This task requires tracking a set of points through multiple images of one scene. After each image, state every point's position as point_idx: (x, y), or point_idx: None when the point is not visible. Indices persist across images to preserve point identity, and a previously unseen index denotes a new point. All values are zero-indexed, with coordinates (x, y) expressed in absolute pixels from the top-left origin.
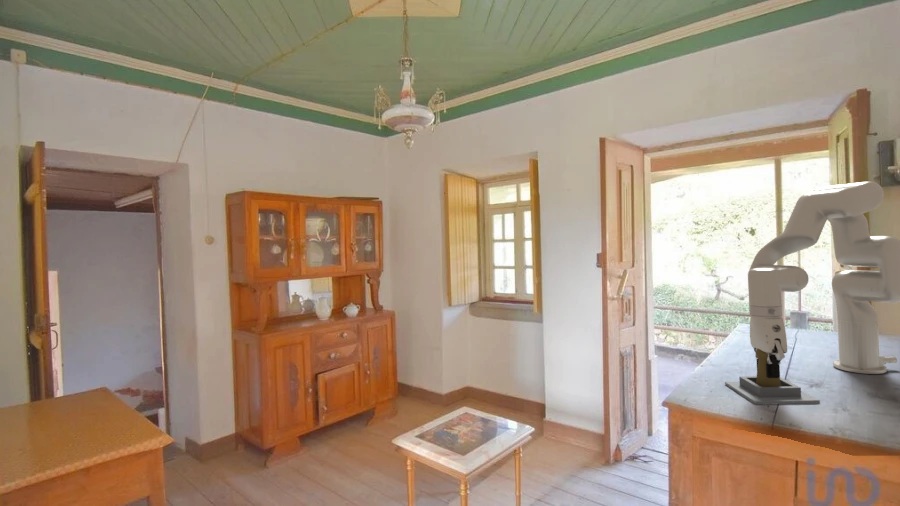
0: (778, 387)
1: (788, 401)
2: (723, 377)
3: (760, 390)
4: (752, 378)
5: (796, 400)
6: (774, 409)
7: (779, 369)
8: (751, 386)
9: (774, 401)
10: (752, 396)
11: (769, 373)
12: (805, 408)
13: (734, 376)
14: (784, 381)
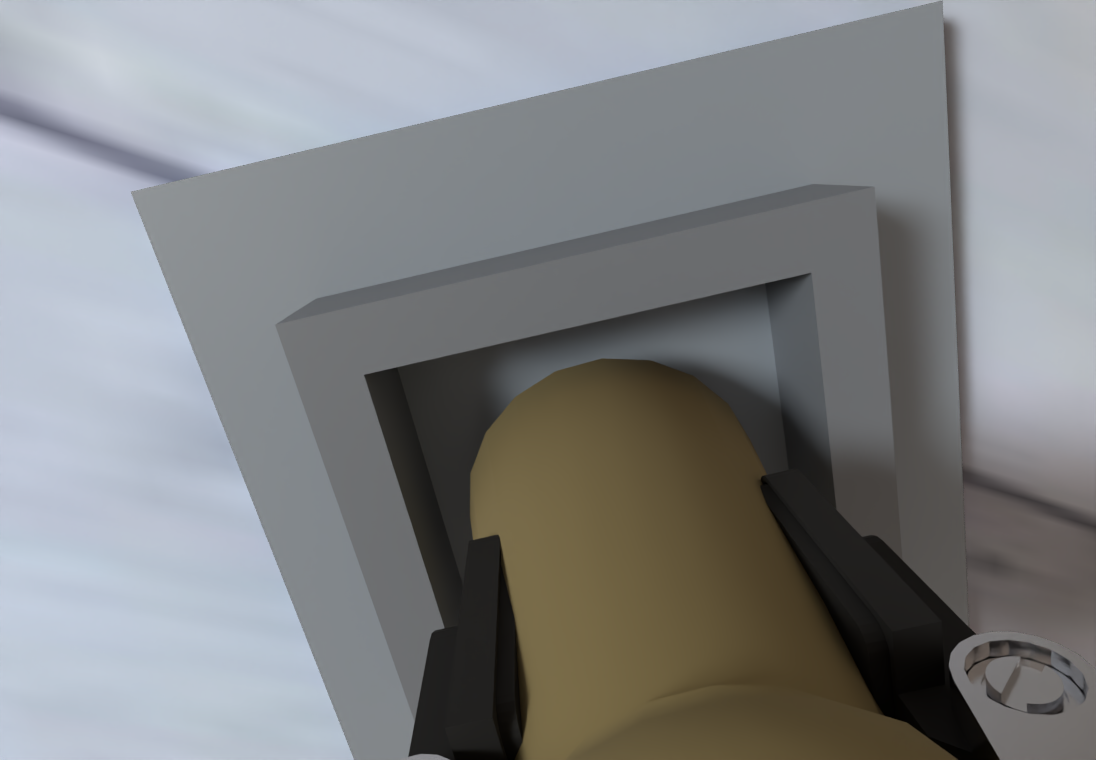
0: (873, 475)
1: (953, 374)
2: (101, 754)
3: None
4: None
5: (946, 287)
6: (1081, 536)
7: (857, 538)
8: None
9: (962, 510)
10: None
11: None
12: (1072, 246)
13: (15, 648)
14: (582, 313)
